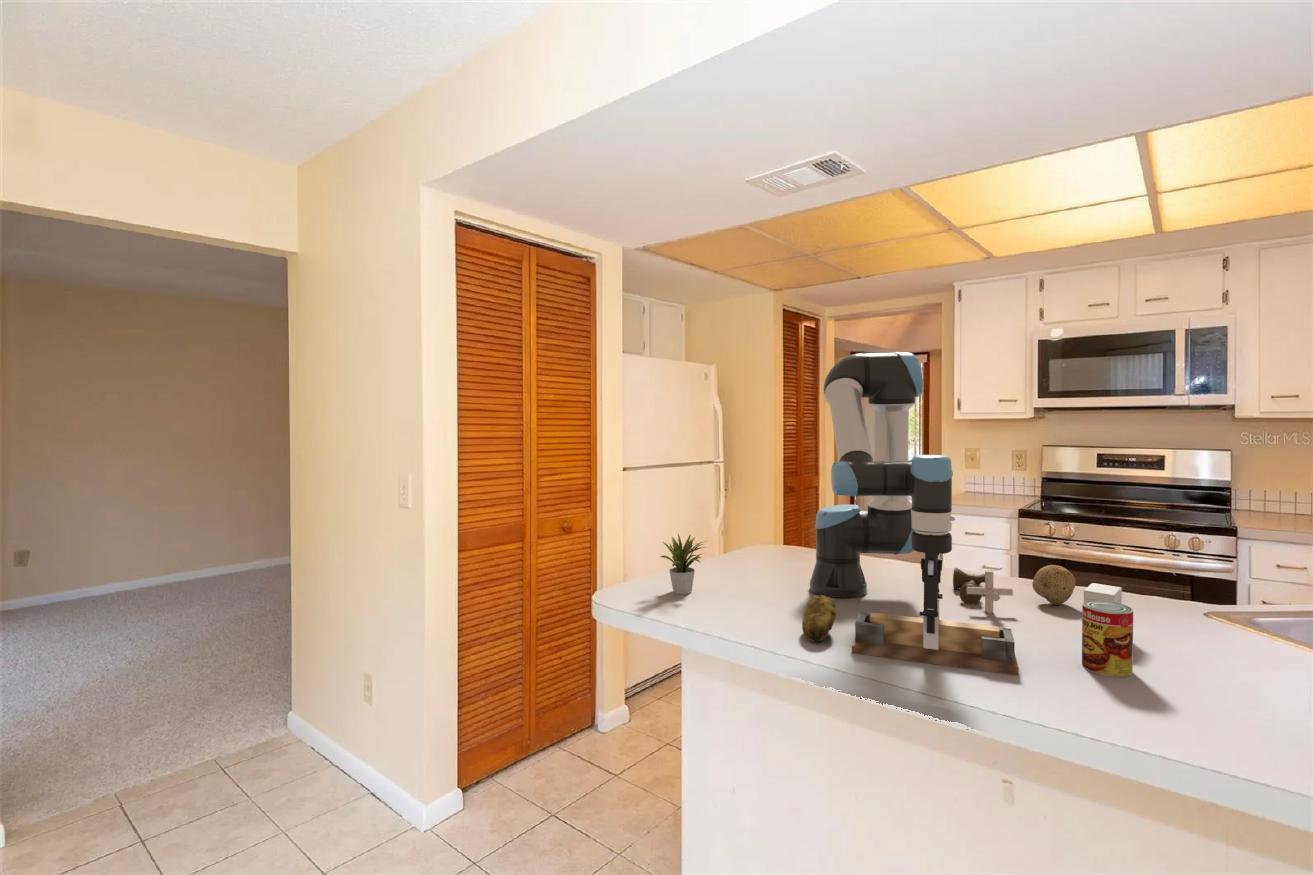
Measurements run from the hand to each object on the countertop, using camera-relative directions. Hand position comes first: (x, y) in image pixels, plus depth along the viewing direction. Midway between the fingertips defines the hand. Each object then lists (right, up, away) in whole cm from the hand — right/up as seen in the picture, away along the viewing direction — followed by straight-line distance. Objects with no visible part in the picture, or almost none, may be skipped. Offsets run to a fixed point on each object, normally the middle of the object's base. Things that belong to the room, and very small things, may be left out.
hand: (931, 638), depth 130 cm
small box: (+40, -2, +7) cm, 41 cm away
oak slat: (0, -1, 0) cm, 1 cm away
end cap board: (0, -3, 0) cm, 3 cm away
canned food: (+29, -3, -9) cm, 31 cm away
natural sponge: (+43, -1, +30) cm, 53 cm away
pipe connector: (+25, -2, +25) cm, 35 cm away
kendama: (+28, -1, +40) cm, 49 cm away
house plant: (-49, -2, +46) cm, 67 cm away
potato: (-20, -3, +12) cm, 24 cm away
